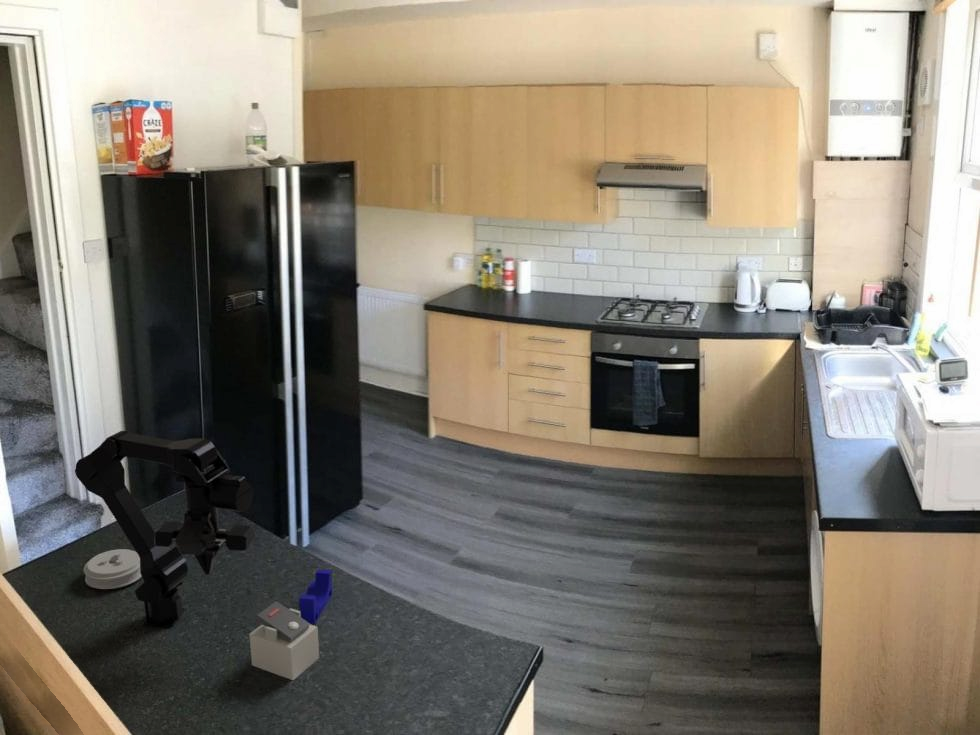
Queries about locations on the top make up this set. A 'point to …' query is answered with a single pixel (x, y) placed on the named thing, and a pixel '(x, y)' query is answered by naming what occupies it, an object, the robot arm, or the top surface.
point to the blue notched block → (316, 596)
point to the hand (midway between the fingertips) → (208, 573)
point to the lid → (113, 569)
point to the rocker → (283, 621)
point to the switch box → (284, 650)
